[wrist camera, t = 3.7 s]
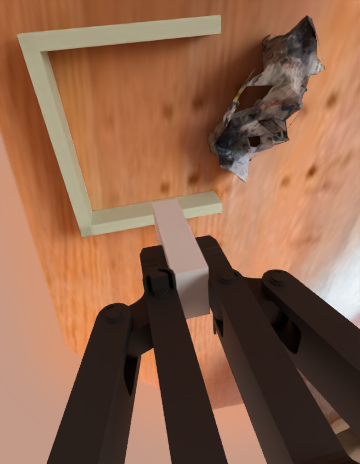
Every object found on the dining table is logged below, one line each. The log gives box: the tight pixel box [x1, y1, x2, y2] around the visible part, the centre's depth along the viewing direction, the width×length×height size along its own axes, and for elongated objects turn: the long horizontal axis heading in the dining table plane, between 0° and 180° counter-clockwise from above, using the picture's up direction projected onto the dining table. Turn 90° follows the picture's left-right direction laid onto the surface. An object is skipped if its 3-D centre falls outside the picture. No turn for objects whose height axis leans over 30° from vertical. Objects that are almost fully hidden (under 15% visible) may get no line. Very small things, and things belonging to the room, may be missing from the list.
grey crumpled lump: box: [208, 16, 325, 183], centre depth 35 cm, size 12×11×15 cm
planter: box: [297, 369, 360, 463], centre depth 59 cm, size 25×24×22 cm
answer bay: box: [17, 15, 222, 237], centre depth 35 cm, size 19×22×4 cm
